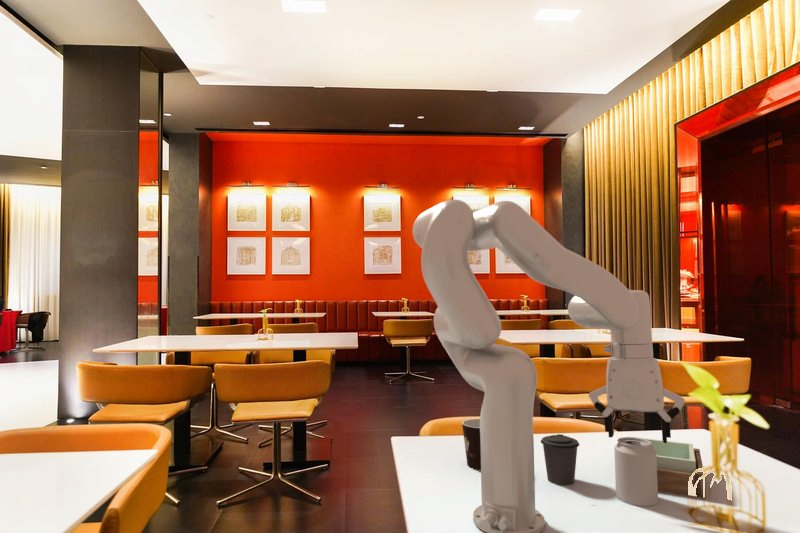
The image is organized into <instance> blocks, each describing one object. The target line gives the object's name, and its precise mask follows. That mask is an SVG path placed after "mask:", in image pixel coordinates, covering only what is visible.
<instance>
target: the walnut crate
mask: <svg viewBox="0 0 800 533" xmlns="http://www.w3.org/2000/svg"><path fill="white" fill-rule="evenodd" d="M693 449H694V455H695V461H696V469H698V468H702V467H703V468H704V466H703V465H704V464H703V460H702V455H701V450H700V448H694V447H693ZM694 471H695V470H694ZM691 475H692V473H685V472H678V471H671V470H664V469H657V485H658V492H660V493H661V492H662V493H668V494H673V495H681V496H686V497H687V496H688V481H689V477H690V476H691ZM702 475H703V472H697V473H695V475H694V476H693V480H692V484H693V487H694V485H695V483H696V481H697V480H698V478H699V477H701V476H702ZM706 488H707V487H706V486H705V490H707V489H706ZM705 492H706V491H705ZM706 493H707V492H706ZM696 495H697V497H696V498H700V499H704V498H703V479H701V480H699V482H698V484H697V488H696ZM688 497H689V496H688Z"/></svg>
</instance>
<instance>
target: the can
mask: <svg viewBox="0 0 800 533" xmlns="http://www.w3.org/2000/svg"><path fill="white" fill-rule="evenodd" d="M641 438H642V437H637V438H635V436H626V437H625V436H624V437H620V438H618V439H617V443H616V444H615V446H614V450H613V452H614V473H615V474H614V476H615V481H614V482H615V495H616V498H617V500H619V501H621V502H623V503H625V504H628V505H631V506H638V507H652V506H656V505H657V504H658V503H659V493H658V492H659V491H658V485H657V460H656V451H655V450H654V448H653V447H652V443H651V442H650V441H648V440H645V439H641Z"/></svg>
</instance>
